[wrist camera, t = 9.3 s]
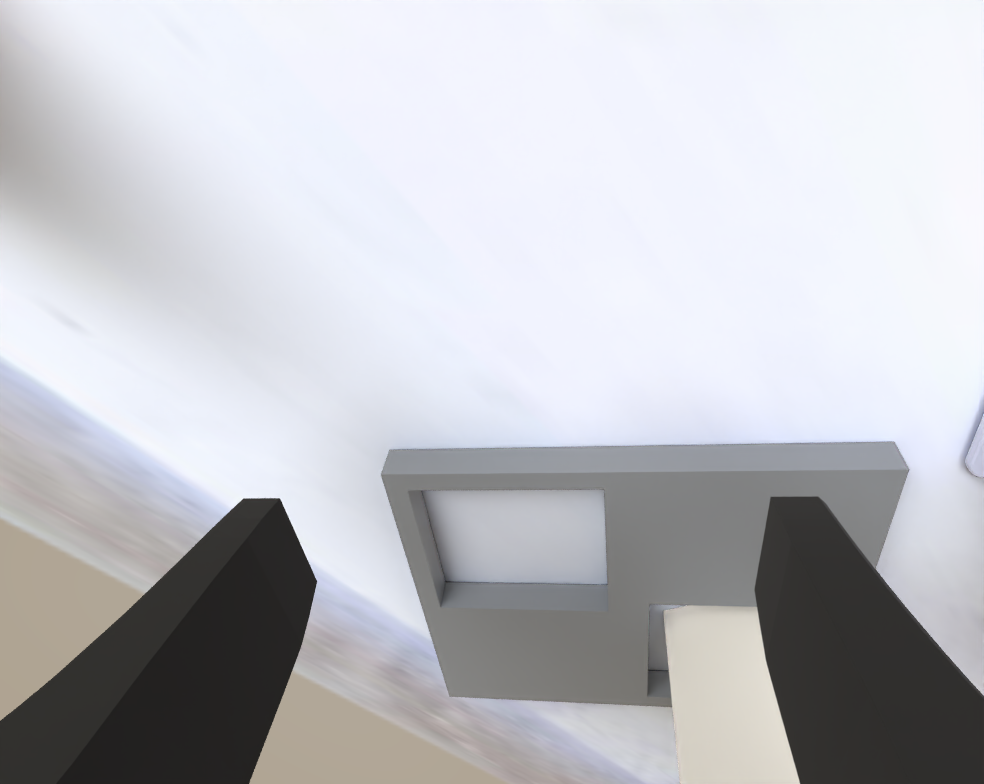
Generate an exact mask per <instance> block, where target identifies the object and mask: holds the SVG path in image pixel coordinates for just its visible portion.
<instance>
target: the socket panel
mask: <svg viewBox="0 0 984 784" xmlns="http://www.w3.org/2000/svg"><path fill="white" fill-rule="evenodd" d="M908 471H909V468H908V466H907V464H906V463H905V461H904V459H903V457H902V455H901V453H900V451H899V450H898V448H897V446H896V444H895V442H856V443H793V444H731V445H669V446H606V447H544V448H482V449H419V450H389V453H388V456H387V458H386V461H385V464H384V467H383V470H382V473H381V476H382V480H383V483H384V486H385V489H386V493H387V496H388V499H389V502H390V506H391V509H392V512H393V515H394V518H395V522H396V525H397V528H398V531H399V535H400V538H401V541H402V544H403V547H404V551H405V554H406V557H407V560H408V564H409V567H410V570H411V573H412V577H413V580H414V583H415V586H416V589H417V593H418V596H419V599H420V602H421V606H422V609H423V612H424V615H425V619H426V622H427V625H428V628H429V631H430V635H431V638H432V641H433V644H434V648H435V651H436V654H437V657H438V661H439V664H440V667H441V670H442V673H443V677H444V680H445V683H446V686H447V690H448V693H449V696H450V697H469V698H490V699H512V700H533V701H554V702H576V703H597V704H618V705H639V706H661V707H672V697H671V687H670V677H669V671H648V646H649V607H650V604H652V605H697V606H742V607H757V603H756V597H755V591H754V589H755V583H756V577H757V572H758V566H759V560H760V555H761V549H762V543H763V537H764V532H765V526H766V520H767V515H768V509H769V503H770V498H771V497H812V496H818V497H819V498H821V499H822V500H823V501H824V502H825V503H826V504H827V506H828V507H829V509H830V510H831V511H832V513H833V514H834V515H835V517H836V518H837V519H838V521H839V522H840V524H841V525H842V526H843V528H844V529H845V530H846V532H847V533H848V534H849V536H850V537H851V538H852V540H853V541H854V542H855V544H856V545H857V546H858V547H859V549H860V550H861V551H862V553H863V554H864V555H865V557H866V558H867V559H868V560H869V562H870V563H871V564H872V566H873V567H874V568H875V569H876V566H877V563H878V560H879V557H880V554H881V551H882V548H883V545H884V542H885V539H886V536H887V533H888V530H889V527H890V524H891V522H892V519H893V516H894V513H895V510H896V507H897V504H898V501H899V498H900V495H901V492H902V489H903V486H904V483H905V480H906V477H907V474H908ZM586 489H604V497H605V526H606V554H607V583H608V585H581V584H525V583H469V582H445V578H444V574H443V570H442V567H441V563H440V559H439V555H438V552H437V548H436V544H435V540H434V536H433V533H432V529H431V525H430V521H429V518H428V514H427V510H426V506H425V502H424V499H423V495H422V491H421V490H586Z"/></svg>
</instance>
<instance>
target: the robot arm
mask: <svg viewBox="0 0 984 784" xmlns="http://www.w3.org/2000/svg"><path fill="white" fill-rule="evenodd" d="M965 464H966V466H967V467H968V469H969V470H970V472H971V473H972V474H973V475H975V476H976V477H983V478H984V414H983V417H982V419H981V422H980V424H979V427H978V429H977V432H976V434H975V437H974V439H973V442H972V444H971V447H970V449H969V452H968V454H967V457H966V460H965ZM316 584H317V580H316V578H315V576H314V574H313V571H312V569H311V567H310V565H309V562H308V560H307V558H306V556H305V554H304V551H303V549H302V547H301V545H300V542H299V540H298V538H297V536H296V533H295V531H294V529H293V527H292V524H291V522H290V520H289V518H288V516H287V513H286V511H285V509H284V507H283V504H282V502H281V500H280V498H261V499H243V500H242V501H241V502H239V503H238V504H237V505H236V506H235V507H234V508H233V509H232V510H231V511H230V512H229V513H228V514H227V515H226V516H224V517H223V518H222V519H221V520H220V521H219V522H218V523H217V524H216V525H215V526H214V527H213V528H212V529H211V530H210V531H209V532H208V533H207V534H206V535H205V536H204V537H203V538H202V539H201V540H200V541H199V542H198V543H197V544H196V545H195V546H194V547H193V548H192V549H191V550H190V551H189V552H188V553H187V554H186V555H185V556H184V557H183V558H182V559H181V560H180V561H179V562H178V563H177V564H176V565H175V566H174V567H172V568H171V569H170V570H169V571H168V572H167V573H166V574H165V575H164V576H163V577H162V578H161V579H160V580H159V581H158V582H157V583H156V584H155V585H154V586H153V587H152V588H151V589H150V590H149V591H148V592H147V593H146V594H144V595H143V596H142V597H141V598H140V599H139V600H138V601H137V602H136V603H135V604H134V605H133V606H132V607H131V608H130V609H129V610H128V611H127V612H126V613H125V614H124V615H122V616H121V617H120V618H119V619H118V620H117V621H116V622H115V623H114V624H112V625H111V626H110V627H109V628H108V629H107V630H106V631H105V632H104V633H102V634H101V635H100V636H99V637H98V638H97V639H96V640H95V641H94V642H93V643H91V644H90V645H89V646H88V647H87V648H86V649H85V650H84V651H82V652H81V653H80V654H79V655H78V656H77V657H76V658H75V659H74V660H72V661H71V662H70V663H69V664H68V665H67V666H66V667H65V668H64V669H63V670H61V671H60V672H59V673H58V674H57V675H56V676H54V677H53V678H52V679H51V680H50V681H48V683H46V684H45V685H44V686H43V687H41V688H40V689H39V690H38V691H37V692H35V693H34V694H33V695H32V696H31V697H29V698H28V699H27V700H26V701H24V702H23V703H22V704H21V705H20V706H18V707H17V708H16V709H15V710H13V711H12V712H11V713H10V714H8V715H7V716H6V717H4V719H2V720H1V721H0V784H249V782H250V779H251V777H252V774H253V772H254V769H255V766H256V764H257V761H258V759H259V756H260V753H261V751H262V748H263V746H264V743H265V740H266V738H267V735H268V733H269V730H270V727H271V725H272V722H273V720H274V717H275V714H276V712H277V709H278V707H279V704H280V701H281V699H282V696H283V694H284V691H285V688H286V686H287V683H288V680H289V678H290V675H291V672H292V670H293V667H294V664H295V662H296V659H297V656H298V653H299V651H300V648H301V645H302V642H303V638H304V634H305V630H306V626H307V622H308V619H309V615H310V610H311V606H312V601H313V597H314V593H315V588H316ZM754 591H755V597H756V603H757V610H758V616H759V623H760V629H761V635H762V641H763V647H764V652H765V658H766V663H767V667H768V670H769V674H770V678H771V681H772V685H773V689H774V692H775V696H776V699H777V703H778V707H779V710H780V714H781V718H782V721H783V725H784V728H785V732H786V735H787V739H788V742H789V746H790V749H791V753H792V757H793V760H794V764H795V767H796V771H797V774H798V778H799V781H800V784H984V696H983V695H982V694H981V692H980V691H979V690H978V689H977V688H976V687H975V686H974V685H973V684H972V683H971V682H970V681H969V679H968V678H967V677H966V676H965V675H964V674H963V673H962V672H961V670H960V669H959V668H958V667H957V666H956V665H955V664H954V663H953V661H952V660H951V659H950V658H949V657H948V656H947V655H946V654H945V652H944V651H943V650H942V649H941V648H940V647H939V645H938V644H937V643H936V642H935V641H934V640H933V638H932V637H931V636H930V635H929V634H928V632H927V631H926V630H925V629H924V628H923V627H922V625H921V624H920V623H919V622H918V621H917V620H916V618H915V617H914V616H913V615H912V614H911V613H910V611H909V610H908V609H907V608H906V607H905V605H904V604H903V603H902V602H901V601H900V599H899V598H898V597H897V596H896V594H895V593H894V592H893V591H892V590H891V588H890V587H889V586H888V585H887V583H886V582H885V581H884V579H883V578H882V577H881V576H880V574H879V573H878V572H877V571H876V569H875V568H874V567H873V566H872V564H871V563H870V562H869V560H868V559H867V558H866V557H865V555H864V554H863V553H862V551H861V550H860V549H859V547H858V546H857V545H856V544H855V542H854V541H853V540H852V538H851V537H850V536H849V534H848V533H847V532H846V530H845V529H844V528H843V526H842V525H841V524H840V522H839V521H838V519H837V518H836V517H835V515H834V514H833V513H832V511H831V510H830V509H829V507H828V506H827V504H826V503H825V502H824V501H823V500H822V499H821V498H819V497H818V496H812V497H771V498H770V503H769V509H768V515H767V520H766V526H765V532H764V537H763V543H762V549H761V555H760V560H759V566H758V572H757V577H756V583H755V589H754Z"/></svg>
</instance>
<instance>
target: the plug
mask: <svg viewBox="0 0 984 784" xmlns="http://www.w3.org/2000/svg"><path fill="white" fill-rule="evenodd" d="M663 615H664V625H665V635H666V646H667V656H668V666H669V677H670V687H671V697H672V708H673V718H674V728H675V739H676V749H677V759H678V770H679V780H680V784H800V781H799V778H798V774H797V771H796V767H795V764H794V760H793V757H792V753H791V749H790V746H789V742H788V739H787V735H786V732H785V728H784V725H783V721H782V718H781V714H780V710H779V707H778V703H777V699H776V696H775V692H774V689H773V685H772V681H771V678H770V674H769V670H768V667H767V663H766V658H765V652H764V647H763V641H762V635H761V629H760V623H759V616H758V610H757V607H742V606H697V605H687V606H683V607H678V608H673V609H669V610H664V611H663Z"/></svg>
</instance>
